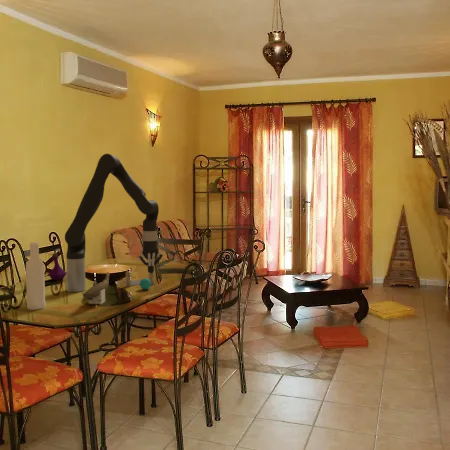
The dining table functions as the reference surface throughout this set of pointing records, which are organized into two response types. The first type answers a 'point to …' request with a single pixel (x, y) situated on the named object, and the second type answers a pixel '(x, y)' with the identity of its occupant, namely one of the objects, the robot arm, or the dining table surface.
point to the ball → (145, 283)
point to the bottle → (35, 279)
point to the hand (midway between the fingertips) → (150, 273)
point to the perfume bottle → (56, 268)
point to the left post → (128, 279)
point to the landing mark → (135, 282)
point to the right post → (151, 278)
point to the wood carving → (97, 291)
